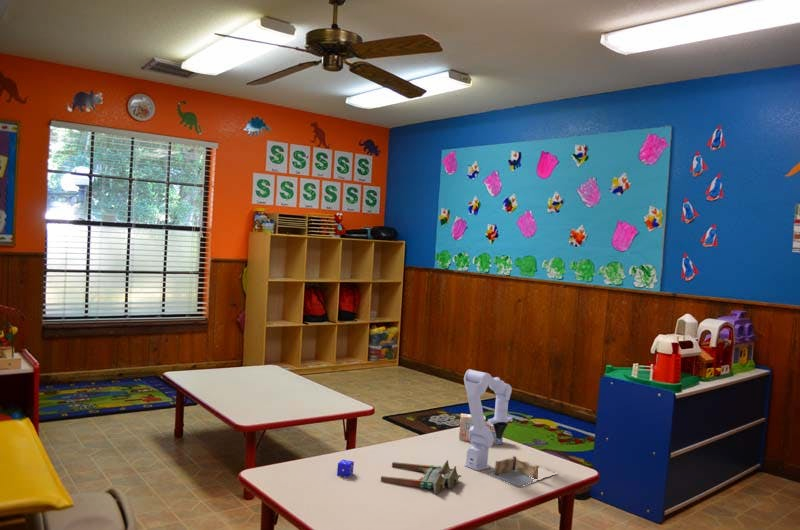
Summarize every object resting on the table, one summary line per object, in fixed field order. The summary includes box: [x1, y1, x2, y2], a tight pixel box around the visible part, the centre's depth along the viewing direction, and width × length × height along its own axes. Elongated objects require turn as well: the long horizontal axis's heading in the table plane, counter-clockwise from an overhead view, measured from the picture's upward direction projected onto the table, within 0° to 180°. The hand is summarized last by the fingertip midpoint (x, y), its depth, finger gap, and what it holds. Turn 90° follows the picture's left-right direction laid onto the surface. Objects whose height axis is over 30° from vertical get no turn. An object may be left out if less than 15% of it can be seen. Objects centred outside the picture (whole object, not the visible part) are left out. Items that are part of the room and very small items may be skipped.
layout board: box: [487, 470, 534, 488], centre depth 261 cm, size 28×16×1 cm, turn 134°
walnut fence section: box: [494, 455, 517, 476], centre depth 261 cm, size 14×2×6 cm, turn 134°
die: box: [336, 459, 355, 478], centre depth 245 cm, size 5×5×5 cm
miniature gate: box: [380, 459, 462, 496], centre depth 246 cm, size 27×6×30 cm
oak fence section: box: [515, 457, 540, 479], centre depth 259 cm, size 12×2×5 cm, turn 38°
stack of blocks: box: [458, 413, 504, 445], centre depth 305 cm, size 21×6×12 cm, turn 85°
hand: (498, 438), depth 280 cm, fingers closed
